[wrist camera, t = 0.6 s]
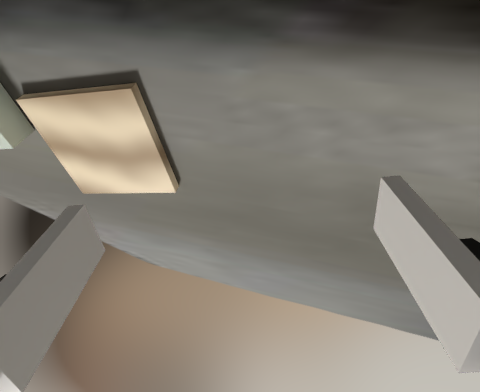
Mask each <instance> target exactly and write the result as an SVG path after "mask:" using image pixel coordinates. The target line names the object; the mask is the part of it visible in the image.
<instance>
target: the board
mask: <svg viewBox="0 0 480 392" xmlns="http://www.w3.org/2000/svg"><path fill="white" fill-rule="evenodd" d="M16 101H17V103H18V104H19V105H20V107H21V108H22V109H23V111H24V112H25V114H26V115H27V116H28V118H29V119H30V121H31V122H32V123H33V125H34V126H35V127H36V129H37V130H38V132H39V133H40V134H41V136H42V137H43V139H44V140H45V141H46V143H47V144H48V145H49V147H50V148H51V150H52V151H53V152H54V154H55V155H56V157H57V158H58V159H59V161H60V162H61V163H62V165H63V166H64V168H65V169H66V170H67V172H68V173H69V175H70V176H71V177H72V179H73V180H74V181H75V183H76V184H77V186H78V187H79V188H80V190H81V191H82V192H83V193H176V191H177V189H178V187H179V185H178V183H177V180H176V178H175V175H174V173H173V171H172V168H171V166H170V163H169V161H168V158H167V156H166V154H165V151H164V149H163V146H162V144H161V142H160V139H159V137H158V134H157V132H156V129H155V127H154V125H153V122H152V120H151V117H150V115H149V113H148V110H147V108H146V105H145V103H144V100H143V98H142V96H141V93H140V91H139V88H138V86H137V84H136V83H130V84H120V85H110V86H101V87H91V88H81V89H72V90H62V91H52V92H43V93H33V94H23V95H22V96H21V97H19V98H18V99H16Z"/></svg>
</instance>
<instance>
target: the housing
mask: <svg viewBox="0 0 480 392" xmlns="http://www.w3.org/2000/svg"><path fill="white" fill-rule="evenodd" d="M33 131H34V128H33V127H32V126H31V124H30V123H29V122H28V120H27V119H26V117H25V116H24V115H23V113H22V112H21V111H20V109H19V108H18V106H17V105H16V104H15V102H14V101H13V100H12V98H11V97H10V96H9V94H8V93H7V91H6V90H5V89H4V87H3V86H2V85H1V83H0V149H13V148H15V147H16V146H17V145H18V144H19V143H20V142H22V141H23V140H24V139H25V138H26V137H27V136H28V135H30V134H31V133H32V132H33Z"/></svg>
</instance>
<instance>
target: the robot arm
mask: <svg viewBox="0 0 480 392" xmlns="http://www.w3.org/2000/svg"><path fill="white" fill-rule="evenodd" d="M374 230H375V232H376V234H377V236H378V237H379V239H380V241H381V242H382V244H383V246H384V247H385V249H386V251H387V253H388V254H389V256H390V258H391V259H392V261H393V263H394V264H395V266H396V268H397V270H398V271H399V273H400V275H401V276H402V278H403V280H404V281H405V283H406V285H407V287H408V288H409V290H410V292H411V293H412V295H413V297H414V298H415V300H416V302H417V304H418V305H419V307H420V309H421V310H422V312H423V314H424V315H425V317H426V319H427V321H428V322H429V324H430V326H431V327H432V329H433V331H434V332H435V334H436V336H437V338H438V339H439V341H440V343H441V344H442V346H443V348H444V349H445V351H446V353H447V355H448V356H449V358H450V360H451V361H452V363H453V365H454V366H455V368H456V370H457V371H458V373H469V372H480V243H479V242H478V241H476V240H474V239H473V238H468V239H459V238H458V237H457V236H456V235H455V234H454V233H453V232H452V231H451V230H450V229H449V228H448V227H447V226H446V225H445V223H444V222H443V221H442V220H441V219H440V218H439V217H438V216H437V215H436V214H435V213H434V212H433V211H432V210H431V209H430V207H429V206H428V205H427V204H426V203H425V202H424V201H423V200H422V199H421V198H420V197H419V196H418V195H417V194H416V192H415V191H414V190H413V189H412V188H411V187H410V186H409V185H408V184H407V183H406V182H405V181H404V180H403V179H402V177H401V176H390V177H381V181H380V188H379V195H378V202H377V208H376V215H375V222H374ZM104 252H105V248H104V246H103V244H102V242H101V240H100V237H99V235H98V233H97V231H96V229H95V226H94V224H93V222H92V220H91V218H90V216H89V213H88V211H87V209H86V207H85V205H73V206H68V207H67V208H66V209H65V210H64V211H63V212H62V214H61V215H60V216H59V217H58V218H57V219H56V220H55V221H54V223H53V224H52V225H51V226H50V227H49V228H48V229H47V230H46V232H45V233H44V234H43V235H42V236H41V237H40V238H39V239H38V240H37V241H36V243H35V244H34V245H33V246H32V247H31V248H30V249H29V251H27V253H26V254H25V255H24V256H23V257H22V258H21V259H20V260H19V262H18V263H17V264H16V265H15V266H14V267H13V268H12V269H11V270H10V272H9V273H8V274H6V275H4V276H3V277H1V278H0V392H24V390H25V388H26V386H27V385H28V383H29V381H30V380H31V378H32V376H33V374H34V373H35V371H36V369H37V368H38V366H39V364H40V362H41V361H42V359H43V357H44V355H45V354H46V352H47V350H48V348H49V347H50V345H51V343H52V342H53V340H54V338H55V336H56V335H57V333H58V331H59V329H60V328H61V326H62V324H63V323H64V321H65V319H66V317H67V316H68V314H69V312H70V310H71V309H72V307H73V305H74V303H75V302H76V300H77V298H78V297H79V295H80V293H81V292H82V290H83V288H84V286H85V285H86V283H87V281H88V279H89V278H90V276H91V274H92V272H93V271H94V269H95V267H96V266H97V264H98V262H99V260H100V259H101V257H102V255H103V253H104Z"/></svg>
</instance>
